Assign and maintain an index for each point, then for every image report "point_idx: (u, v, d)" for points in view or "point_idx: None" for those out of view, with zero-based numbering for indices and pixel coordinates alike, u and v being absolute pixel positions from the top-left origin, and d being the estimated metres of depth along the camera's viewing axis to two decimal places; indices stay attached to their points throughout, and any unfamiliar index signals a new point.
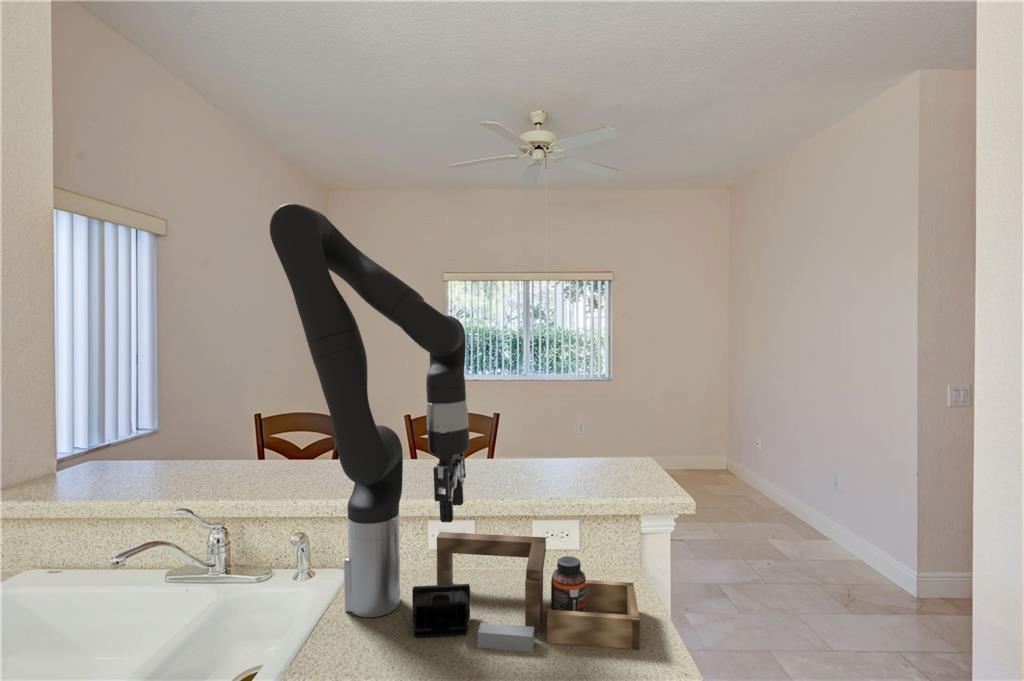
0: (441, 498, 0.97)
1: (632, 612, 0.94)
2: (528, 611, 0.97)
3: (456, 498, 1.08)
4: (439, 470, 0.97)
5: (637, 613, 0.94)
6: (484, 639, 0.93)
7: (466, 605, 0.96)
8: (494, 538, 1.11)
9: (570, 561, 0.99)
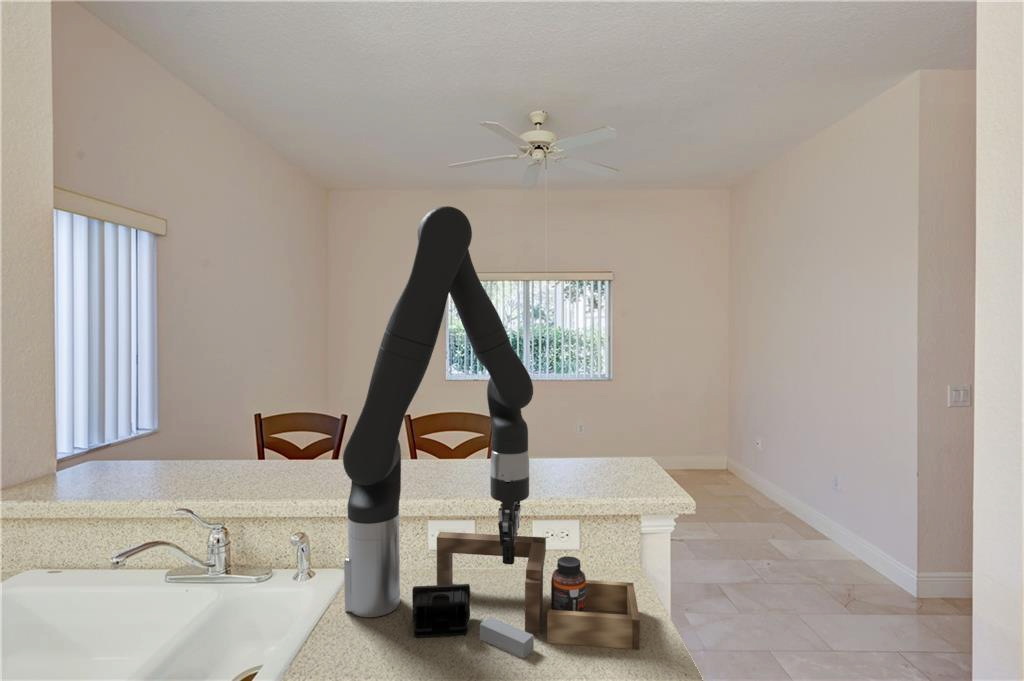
0: (506, 543, 1.06)
1: (632, 612, 0.94)
2: (528, 611, 0.97)
3: None
4: (504, 526, 1.04)
5: (637, 613, 0.94)
6: (485, 632, 0.95)
7: (466, 605, 0.96)
8: (494, 538, 1.11)
9: (570, 561, 0.99)
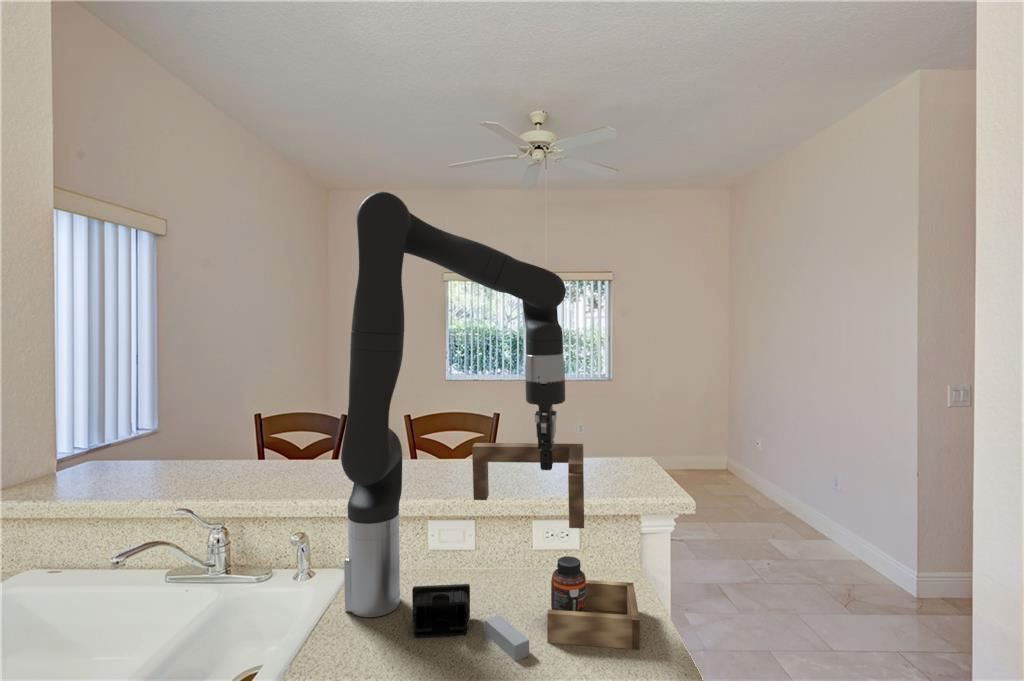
0: (544, 446, 1.04)
1: (632, 612, 0.94)
2: (572, 505, 0.95)
3: None
4: (542, 427, 1.02)
5: (637, 613, 0.94)
6: (488, 629, 0.96)
7: (466, 605, 0.96)
8: (530, 445, 1.09)
9: (570, 561, 0.99)
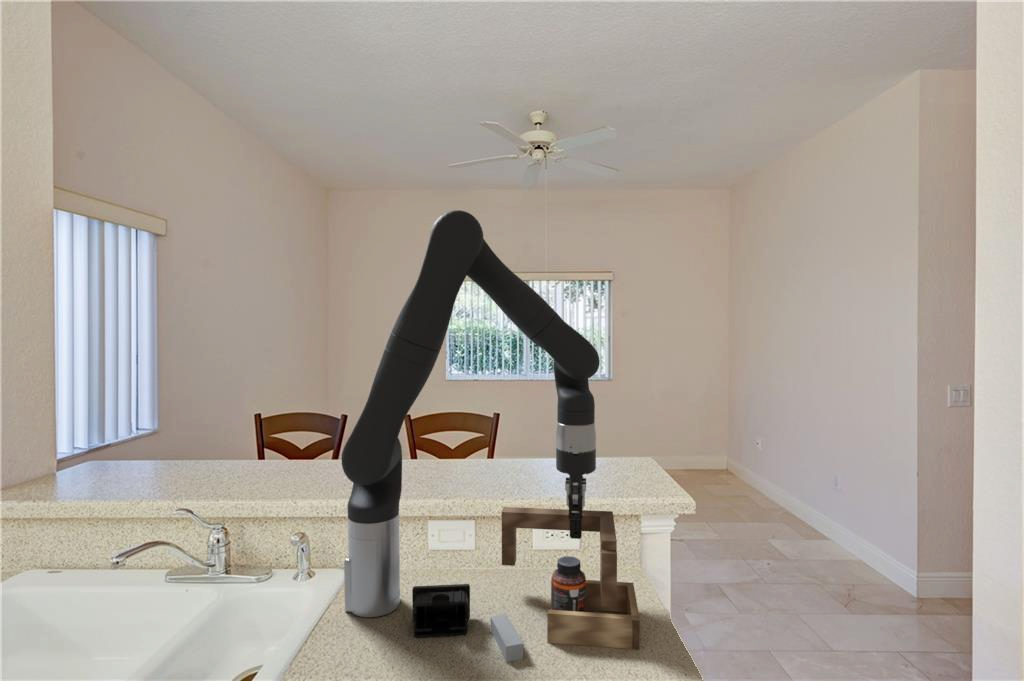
0: (575, 516, 1.04)
1: (632, 612, 0.94)
2: (605, 583, 0.95)
3: None
4: (574, 499, 1.02)
5: (637, 613, 0.94)
6: (492, 626, 0.97)
7: (466, 605, 0.96)
8: (560, 512, 1.09)
9: (570, 561, 0.99)
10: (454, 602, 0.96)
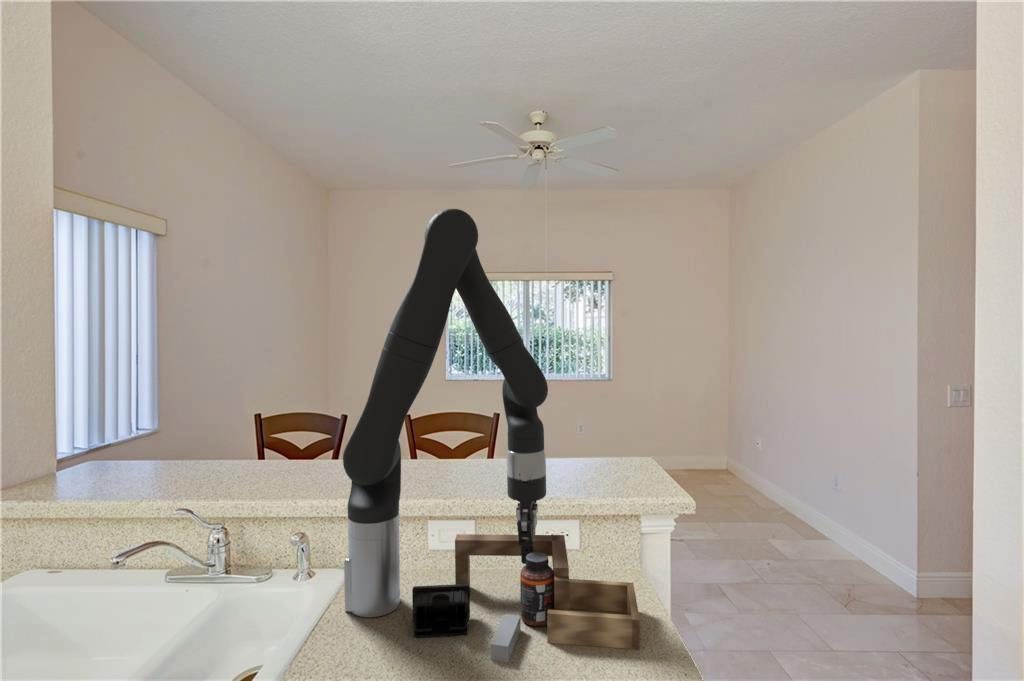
0: (525, 543, 1.06)
1: (632, 612, 0.94)
2: (558, 609, 0.97)
3: None
4: (523, 526, 1.04)
5: (637, 613, 0.94)
6: None
7: (466, 605, 0.96)
8: (513, 538, 1.10)
9: (538, 556, 1.01)
10: (454, 602, 0.96)
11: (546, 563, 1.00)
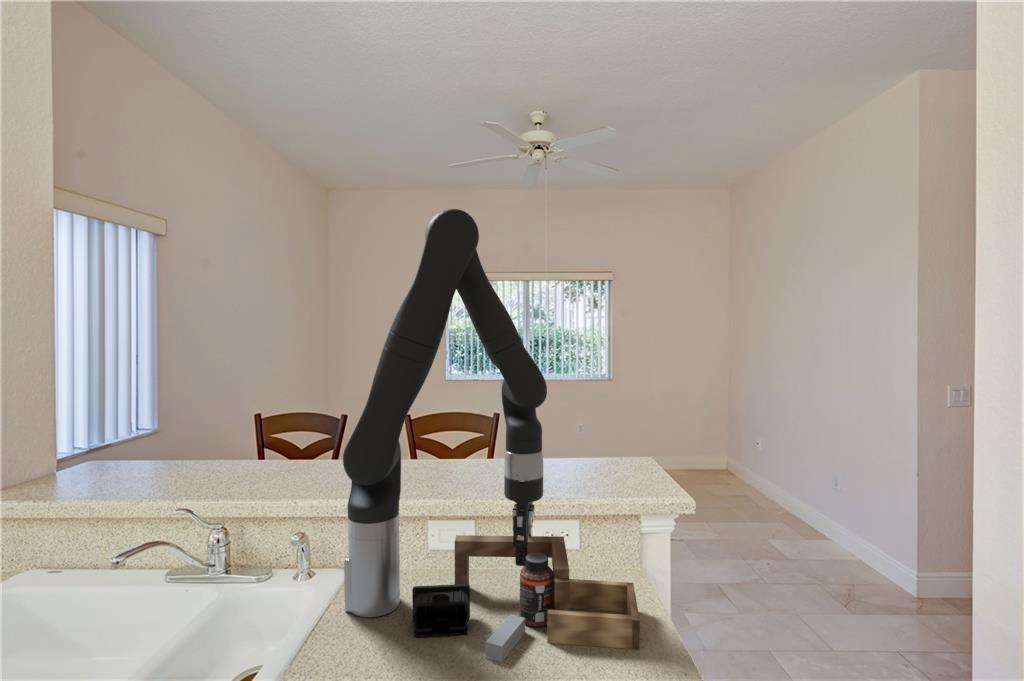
0: (519, 544, 1.04)
1: (632, 612, 0.94)
2: None
3: None
4: (518, 520, 1.03)
5: (637, 613, 0.94)
6: None
7: (466, 605, 0.96)
8: (512, 539, 1.10)
9: (538, 557, 1.01)
10: (454, 602, 0.96)
11: (546, 564, 1.00)
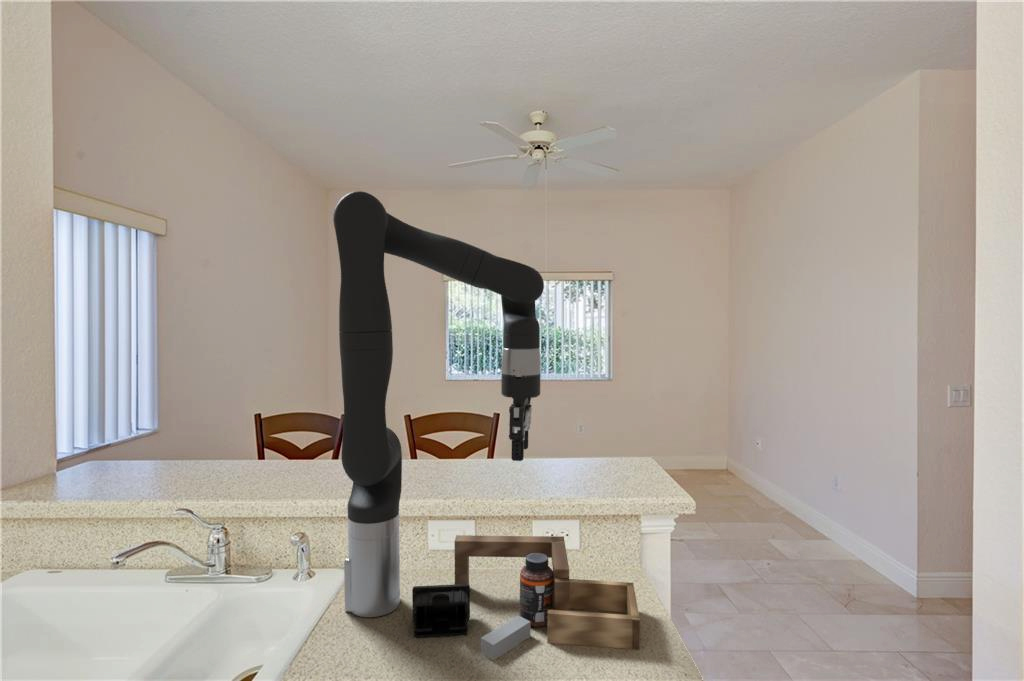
0: (515, 436, 1.03)
1: (632, 612, 0.94)
2: None
3: None
4: (515, 410, 1.03)
5: (637, 613, 0.94)
6: None
7: (466, 605, 0.96)
8: (512, 539, 1.10)
9: (538, 557, 1.01)
10: (454, 602, 0.96)
11: (546, 564, 1.00)
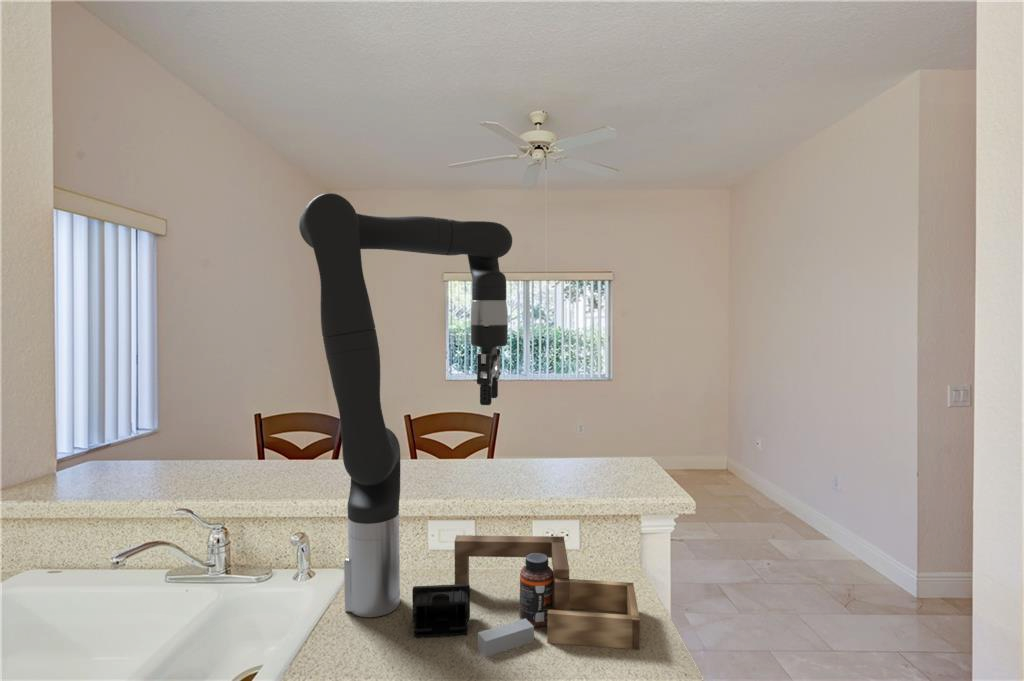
0: (483, 381, 1.10)
1: (632, 612, 0.94)
2: None
3: (491, 391, 1.21)
4: (482, 356, 1.10)
5: (637, 613, 0.94)
6: None
7: (466, 605, 0.96)
8: (512, 539, 1.10)
9: (538, 557, 1.01)
10: (454, 602, 0.96)
11: (546, 564, 1.00)
